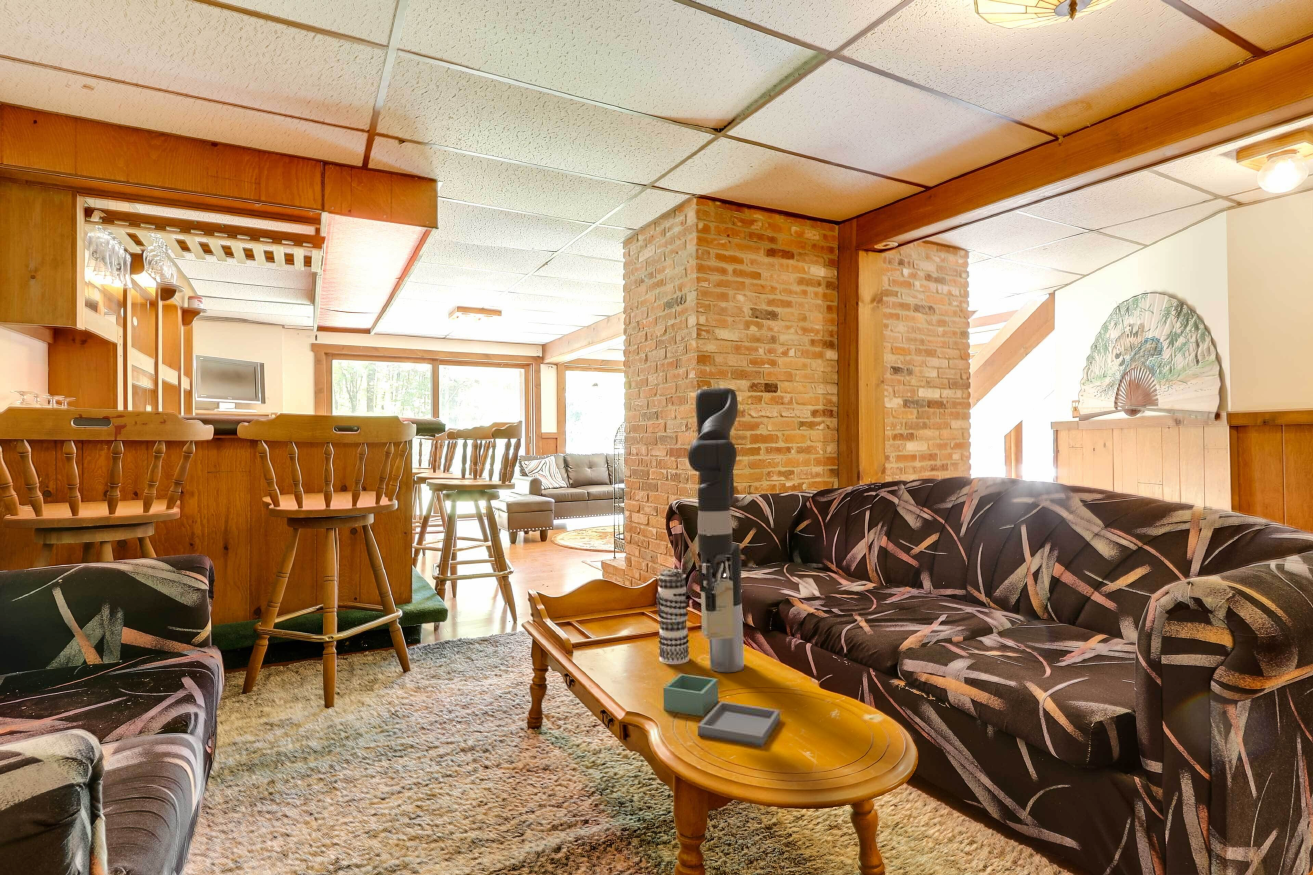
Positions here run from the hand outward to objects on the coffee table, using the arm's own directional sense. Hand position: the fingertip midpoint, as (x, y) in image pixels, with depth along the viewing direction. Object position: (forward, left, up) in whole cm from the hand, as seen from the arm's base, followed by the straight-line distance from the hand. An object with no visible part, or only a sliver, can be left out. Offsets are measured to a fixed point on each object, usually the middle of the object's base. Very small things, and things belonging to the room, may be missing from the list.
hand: (717, 606), depth 137 cm
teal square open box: (-5, -9, -24) cm, 26 cm away
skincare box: (0, 0, -7) cm, 7 cm away
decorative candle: (-33, -26, -25) cm, 49 cm away
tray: (+2, +5, -24) cm, 25 cm away
